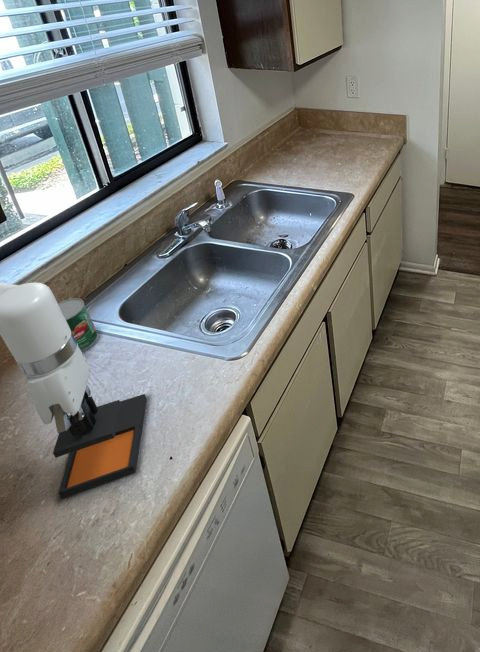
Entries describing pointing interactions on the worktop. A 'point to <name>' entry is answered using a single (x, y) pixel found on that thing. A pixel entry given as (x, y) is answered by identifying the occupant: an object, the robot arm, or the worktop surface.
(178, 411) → the worktop surface
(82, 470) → the base pad
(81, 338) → the canned tomato
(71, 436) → the black pad
